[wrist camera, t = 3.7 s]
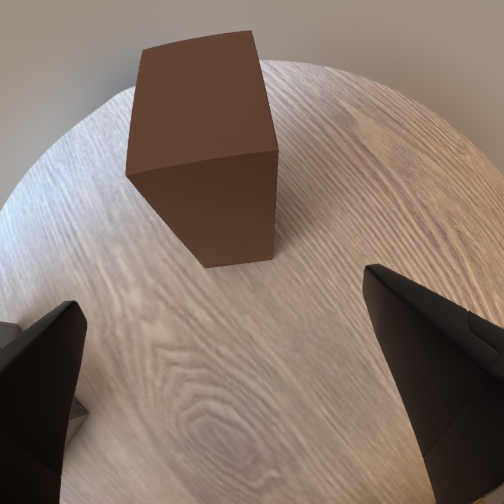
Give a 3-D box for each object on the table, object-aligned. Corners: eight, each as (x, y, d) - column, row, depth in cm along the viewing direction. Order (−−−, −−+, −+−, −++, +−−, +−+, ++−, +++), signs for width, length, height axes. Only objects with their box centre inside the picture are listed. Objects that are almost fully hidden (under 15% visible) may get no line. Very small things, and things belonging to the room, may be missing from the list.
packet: (272, 259, 23) (279, 150, 9) (204, 268, 23) (124, 175, 9) (259, 175, 25) (251, 29, 11) (198, 184, 25) (142, 49, 11)
